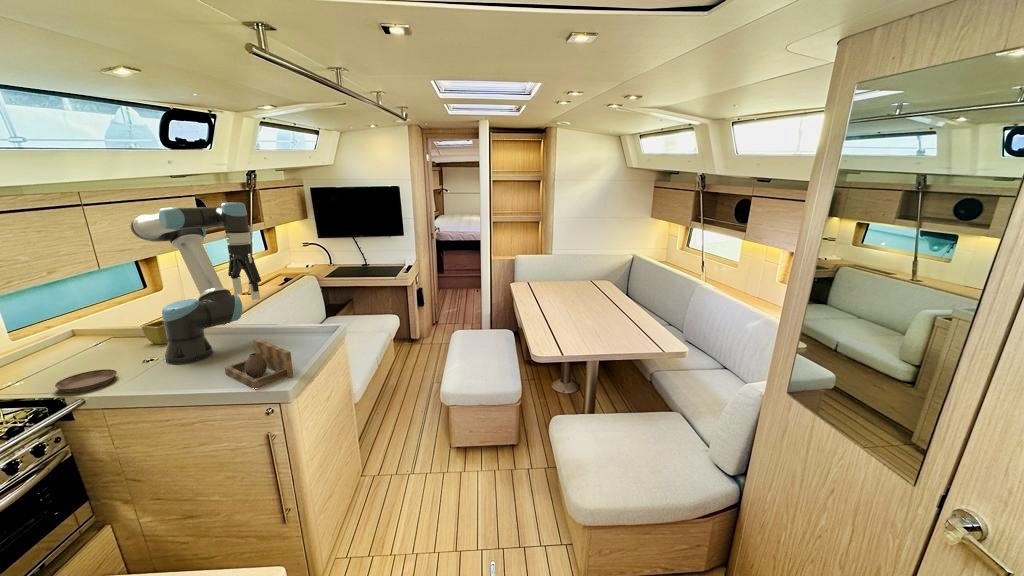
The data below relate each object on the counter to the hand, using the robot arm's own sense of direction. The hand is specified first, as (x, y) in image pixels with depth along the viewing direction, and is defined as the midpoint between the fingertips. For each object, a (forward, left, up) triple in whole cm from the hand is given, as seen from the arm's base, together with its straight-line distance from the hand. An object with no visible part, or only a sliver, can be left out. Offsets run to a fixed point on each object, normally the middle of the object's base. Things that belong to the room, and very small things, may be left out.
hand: (247, 296), depth 151 cm
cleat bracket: (+16, -7, -27) cm, 32 cm away
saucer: (-25, -43, -27) cm, 57 cm away
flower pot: (-52, -14, -27) cm, 60 cm away
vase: (+16, -8, -27) cm, 32 cm away
